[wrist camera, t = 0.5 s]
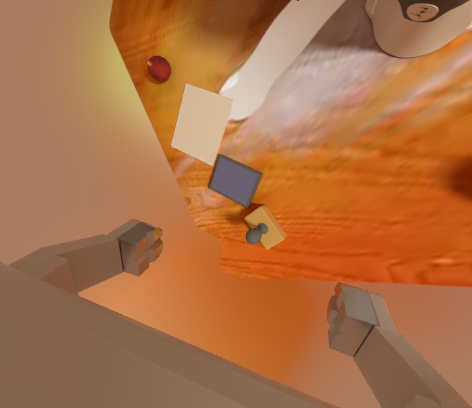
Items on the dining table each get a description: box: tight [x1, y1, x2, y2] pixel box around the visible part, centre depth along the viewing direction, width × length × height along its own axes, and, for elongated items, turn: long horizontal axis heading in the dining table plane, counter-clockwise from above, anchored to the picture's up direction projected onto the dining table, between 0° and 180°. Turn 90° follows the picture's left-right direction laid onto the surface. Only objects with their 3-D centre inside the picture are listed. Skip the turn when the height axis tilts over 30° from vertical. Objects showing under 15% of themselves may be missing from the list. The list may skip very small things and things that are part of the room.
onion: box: [147, 56, 171, 81], centre depth 58 cm, size 6×6×8 cm
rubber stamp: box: [245, 205, 286, 250], centre depth 52 cm, size 10×6×12 cm, turn 38°
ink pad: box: [209, 154, 263, 208], centre depth 58 cm, size 10×13×2 cm
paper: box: [171, 84, 234, 166], centre depth 60 cm, size 18×16×1 cm
